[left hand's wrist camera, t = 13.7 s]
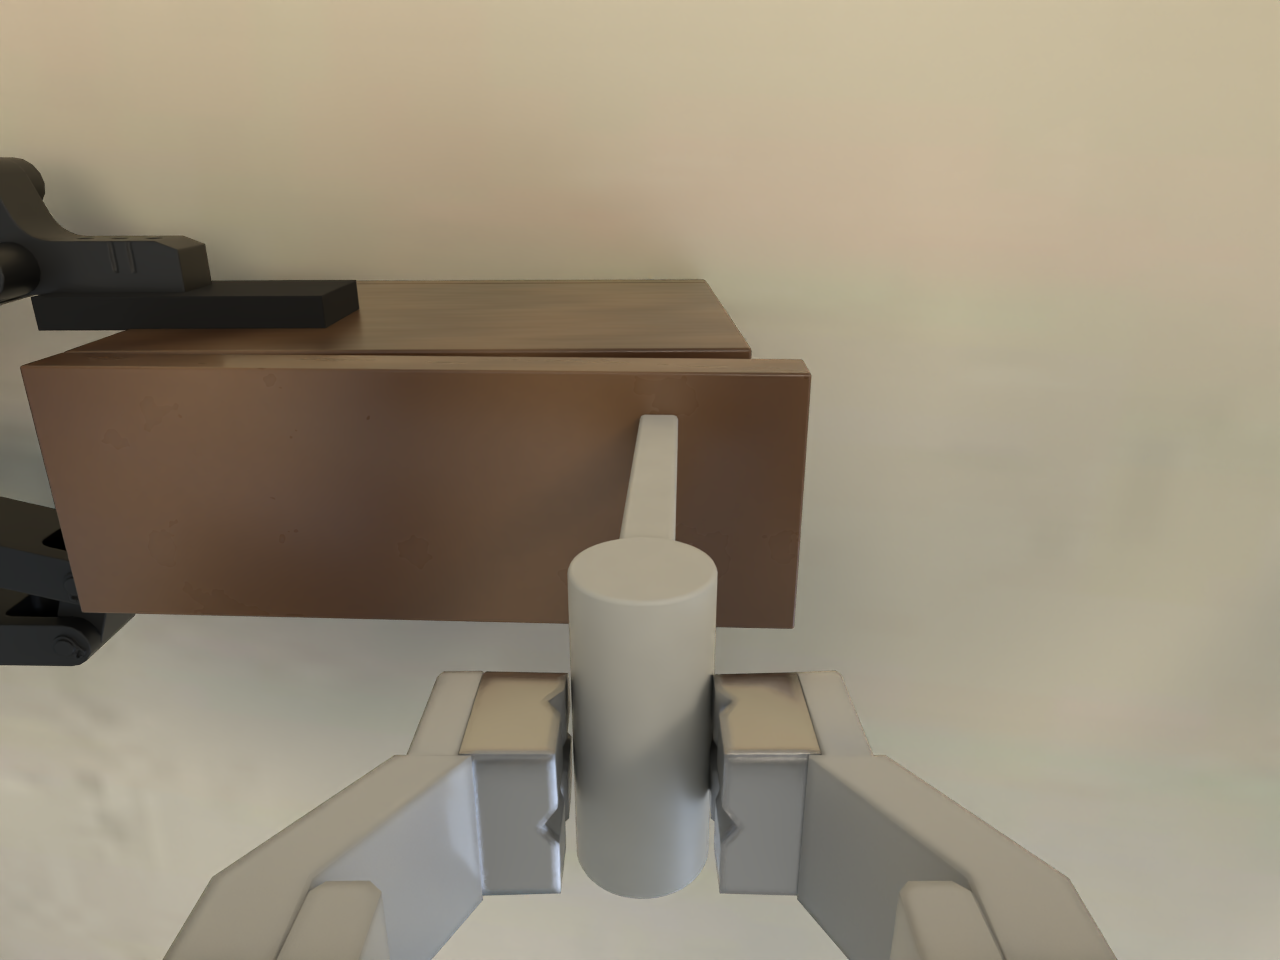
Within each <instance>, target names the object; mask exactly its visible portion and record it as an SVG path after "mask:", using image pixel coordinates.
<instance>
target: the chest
mask: <svg viewBox="0 0 1280 960" xmlns="http://www.w3.org/2000/svg"><path fill="white" fill-rule="evenodd" d="M356 283H357V292H358V301H359V309H358V310H357V311H355V312H353V313H351V314H350V315H348V316H346V317H344V318H343V319H341V320H339V321H337V322H336V323H334V324H332V325H330V326H329V327H327V328H262V329H128V330H125V331H122V332H120V333H117V334H114V335H111V336H108V337H105V338H102V339H100V340H97V341H94V342H91V343H88V344H85V345H82V346H80V347H77V348H74V349H71V350H68V351H66V352H64V353H146V354H256V355H366V356H476V357H587V358H697V359H751V353H752V351H751V348H750V347H749V345H748V344H747V342H746V341H745V339H744V338H743V336H742V335H741V333H740V332H739V330H738V329H737V327H736V326H735V324H734V323H733V321H732V320H731V318H730V317H729V315H728V314H727V312H726V311H725V309H724V307H723V306H722V304H721V303H720V301H719V300H718V298H717V297H716V295H715V294H714V292H713V291H712V289H711V288H710V286H709V285H708V283H707V282H706V281H705V280H452V281H356Z"/></svg>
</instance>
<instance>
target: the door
mask: <svg viewBox="0 0 1280 960" xmlns="http://www.w3.org/2000/svg"><path fill="white" fill-rule="evenodd" d="M20 370H21V374H22V377H23V381H24V385H25V389H26V393H27V397H28V401H29V405H30V409H31V413H32V417H33V421H34V425H35V429H36V433H37V437H38V441H39V445H40V448H41V452H42V456H43V460H44V464H45V468H46V472H47V476H48V480H49V484H50V488H51V492H52V496H53V500H54V504H55V508H56V512H57V516H58V520H59V523H60V527H61V531H62V535H63V539H64V543H65V547H66V551H67V555H68V559H69V563H70V567H71V571H72V575H73V579H74V583H75V587H76V591H77V594H78V598H79V602H80V606H81V610H82V612H88V613H131V614H175V615H218V616H261V617H304V618H347V619H391V620H434V621H477V622H520V623H563V624H569V637H570V666H571V696H572V725H573V755H574V785H575V814H576V844H577V856H578V859H579V862H580V864H581V866H582V868H583V870H584V871H585V873H586V874H587V876H588V877H589V878H590V879H591V880H592V881H593V882H594V883H596V884H597V885H598V886H600V887H601V888H603V889H605V890H607V891H609V892H611V893H613V894H616V895H620V896H623V897H628V898H637V899H649V898H658V897H662V896H666V895H669V894H672V893H675V892H677V891H679V890H681V889H682V888H684V887H686V886H687V885H689V884H690V883H691V882H692V881H693V880H694V879H695V878H696V877H697V876H698V875H699V873H700V872H701V870H702V869H703V867H704V865H705V863H706V860H707V856H708V848H709V818H710V802H709V760H710V746H711V741H712V723H711V698H712V675H713V674H714V665H715V634H716V627H736V628H779V629H793V628H794V623H795V608H796V594H797V579H798V565H799V550H800V535H801V521H802V506H803V491H804V477H805V462H806V448H807V433H808V418H809V404H810V389H811V373H810V372H809V370H808V368H807V367H806V365H805V363H804V361H803V360H801V359H697V358H587V357H476V356H366V355H256V354H146V353H60V354H57V355H54V356H50V357H47V358H44V359H41V360H38V361H35V362H31V363H28V364H25V365H22V366H21V367H20Z"/></svg>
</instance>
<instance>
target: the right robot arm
mask: <svg viewBox="0 0 1280 960" xmlns="http://www.w3.org/2000/svg"><path fill="white" fill-rule="evenodd" d="M44 194H45V185H44V181H43V179H42V177H41V174H40V173H39V171H38V170H37V169H36V168H35V167H34V166H33V165H32V164H30V163H29V162H27V161H25V160H23V159H19V158H13V157H0V305H3V304H6V303H9V302H13V301H16V300H19V299H23V298H26V297H29V296H33V295H38V296H34V297H31V300H32V305H33V309H34V313H35V317H36V321H37V325H38V329H39V330H128V329H262V328H327V327H329V326H330V325H332V324H334V323H336V322H337V321H339V320H341V319H343V318H344V317H346V316H348V315H350V314H351V313H353V312H355V311H357V310H358V309H359V301H358V292H357V283H356V280H266V281H211V276H210V270H209V265H208V259H207V253H206V247H205V244H203V243H201V242H198V241H195V240H193V239H190V238H188V237H185V236H82V235H77V234H74V233H71V232H69V231H67V230H66V229H64V228H62V227H61V226H60V225H59V224H58V223H57V222H56V221H55V220H54V218H53V217H52V216H51V214H50V213H49V211H48V209H47V208H46V206H45V204H44V202H43V201H42V200H43V197H44ZM134 616H135V614H131V613H88V612H82V610H81V606H80V602H79V598H78V594H77V591H76V587H75V583H74V579H73V575H72V571H71V567H70V563H69V559H68V555H67V551H66V547H65V543H64V539H63V535H62V531H61V527H60V523H59V520H58V516H57V512H56V509H53V508H48V507H44V506H40V505H35V504H31V503H27V502H22V501H18V500H13V499H9V498H5V497H0V665H36V666H75V665H80V664H82V663H83V662H85V661H86V660H88V659H89V658H90V657H91V656H92V655H93V654H94V653H95V652H96V651H97V650H98V649H99V648H100V647H102V646H103V645H104V644H105V643H106V642H107V641H108V640H109V639H110V638H111V637H112V636H113V635H114V634H115V633H116V632H118V631H119V630H120V629H121V628H122V627H123V626H124V625H125V624H126V623H127V622H128V621H129V620H130V619H131V618H133V617H134Z"/></svg>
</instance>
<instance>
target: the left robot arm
mask: <svg viewBox="0 0 1280 960" xmlns="http://www.w3.org/2000/svg"><path fill="white" fill-rule="evenodd" d="M570 705H571V704H570V685H569V676H568V673H536V672H485V673H484V672H483V671H444V672H443V673H441V674H440V675H439V676H438V677H437V679H436V682H435V684H434V687H433V689H432V692H431V694H430V697H429V699H428V702H427V705H426V707H425V710H424V712H423V715H422V717H421V720H420V722H419V725H418V727H417V730H416V732H415V735H414V738H413V740H412V743H411V745H410V748H409V750H408V753H407V755H394V756H392V757H391V758H390V759H388V760H387V761H385V762H384V763H382V764H381V765H379V766H378V767H376V768H375V769H373V770H372V771H370V772H369V773H367V774H366V775H364V776H363V777H361V778H360V779H358V780H357V781H355V782H354V783H352V784H351V785H349V786H348V787H346V788H345V789H343V790H342V791H340V792H339V793H337V794H336V795H334V796H333V797H331V798H330V799H328V800H327V801H325V802H324V803H322V804H321V805H319V806H318V807H316V808H315V809H313V810H312V811H310V812H309V813H307V814H306V815H304V816H303V817H301V818H300V819H298V820H297V821H295V822H294V823H292V824H291V825H289V826H288V827H286V828H285V829H283V830H282V831H280V832H279V833H277V834H276V835H274V836H273V837H271V838H270V839H268V840H267V841H265V842H264V843H262V844H261V845H259V846H258V847H257V848H255V849H254V850H252V851H251V852H249V853H248V854H246V855H245V856H243V857H242V858H240V859H239V860H237V861H236V862H234V863H233V864H231V865H230V866H228V867H227V868H225V869H224V870H222V871H221V872H219V873H218V874H216V875H215V876H213V877H212V878H211V880H210V882H209V883H208V885H207V887H206V888H205V890H204V892H203V893H202V895H201V897H200V898H199V900H198V902H197V903H196V905H195V907H194V908H193V910H192V912H191V913H190V915H189V917H188V918H187V920H186V922H185V923H184V925H183V927H182V928H181V930H180V932H179V933H178V935H177V937H176V938H175V940H174V942H173V943H172V945H171V947H170V948H169V950H168V952H167V953H166V955H165V957H164V958H163V960H431V959H432V958H433V957H434V956H435V955H436V954H437V953H438V951H439V950H440V949H441V948H442V947H443V946H444V944H445V943H446V942H447V941H448V940H449V939H450V937H451V936H452V935H453V934H454V933H455V932H456V930H457V929H458V928H459V927H460V926H461V925H462V923H463V922H464V921H465V920H466V919H467V918H468V917H469V915H470V914H471V913H472V912H473V911H474V910H475V908H476V907H477V906H478V905H479V904H480V903H481V901H482V900H483V897H482V895H516V894H551V893H561V885H562V876H563V867H564V859H565V850H566V835H565V821H566V820H568V819H569V812H570V802H571V784H572V737H571V735H570V734H569V733H568V723H569V714H570ZM711 723H712V741H711V746H710V760H709V802H710V813H711V819H712V820H714V821H715V834H714V850H715V859H716V867H717V875H718V884H719V892H720V893H727V894H762V895H797V900H798V901H799V902H800V903H801V904H802V905H803V907H804V908H805V909H806V910H807V911H808V912H809V914H810V915H811V916H812V917H813V918H814V919H815V921H816V922H817V923H818V924H819V925H820V926H821V928H822V929H823V930H824V931H825V932H826V933H827V935H828V936H829V937H830V938H831V939H832V940H833V942H834V943H835V944H836V945H837V946H838V947H839V949H840V950H841V951H842V952H843V953H844V954H845V956H846V957H847V958H848V959H849V960H1117V958H1116V957H1115V955H1114V953H1113V952H1112V950H1111V948H1110V947H1109V945H1108V943H1107V942H1106V940H1105V938H1104V937H1103V935H1102V933H1101V931H1100V930H1099V928H1098V926H1097V925H1096V923H1095V921H1094V920H1093V918H1092V916H1091V915H1090V913H1089V911H1088V910H1087V908H1086V906H1085V905H1084V903H1083V901H1082V899H1081V898H1080V896H1079V894H1078V893H1077V891H1076V889H1075V888H1074V886H1073V884H1072V883H1071V881H1070V879H1069V878H1068V877H1066V876H1065V875H1063V874H1062V873H1060V872H1059V871H1057V870H1056V869H1054V868H1053V867H1051V866H1050V865H1048V864H1047V863H1045V862H1044V861H1042V860H1041V859H1039V858H1038V857H1036V856H1035V855H1033V854H1032V853H1030V852H1029V851H1027V850H1026V849H1024V848H1023V847H1021V846H1020V845H1018V844H1017V843H1016V842H1014V841H1013V840H1011V839H1010V838H1008V837H1007V836H1005V835H1004V834H1002V833H1001V832H999V831H998V830H996V829H995V828H993V827H992V826H990V825H989V824H987V823H986V822H984V821H983V820H981V819H980V818H978V817H977V816H975V815H974V814H972V813H971V812H969V811H968V810H966V809H965V808H963V807H962V806H960V805H959V804H957V803H956V802H954V801H953V800H952V799H950V798H949V797H947V796H946V795H944V794H943V793H941V792H940V791H938V790H937V789H935V788H934V787H932V786H931V785H929V784H928V783H926V782H925V781H923V780H922V779H920V778H919V777H917V776H916V775H914V774H913V773H911V772H910V771H908V770H907V769H905V768H904V767H902V766H901V765H899V764H898V763H896V762H895V761H893V760H892V759H891V758H889V757H888V756H886V755H873V753H872V750H871V748H870V745H869V743H868V740H867V738H866V735H865V733H864V730H863V728H862V725H861V723H860V720H859V718H858V715H857V713H856V710H855V708H854V705H853V703H852V700H851V698H850V695H849V693H848V690H847V688H846V685H845V683H844V680H843V678H842V675H841V674H840V673H838V672H837V671H813V672H793V673H753V674H713V675H712V698H711Z"/></svg>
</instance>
